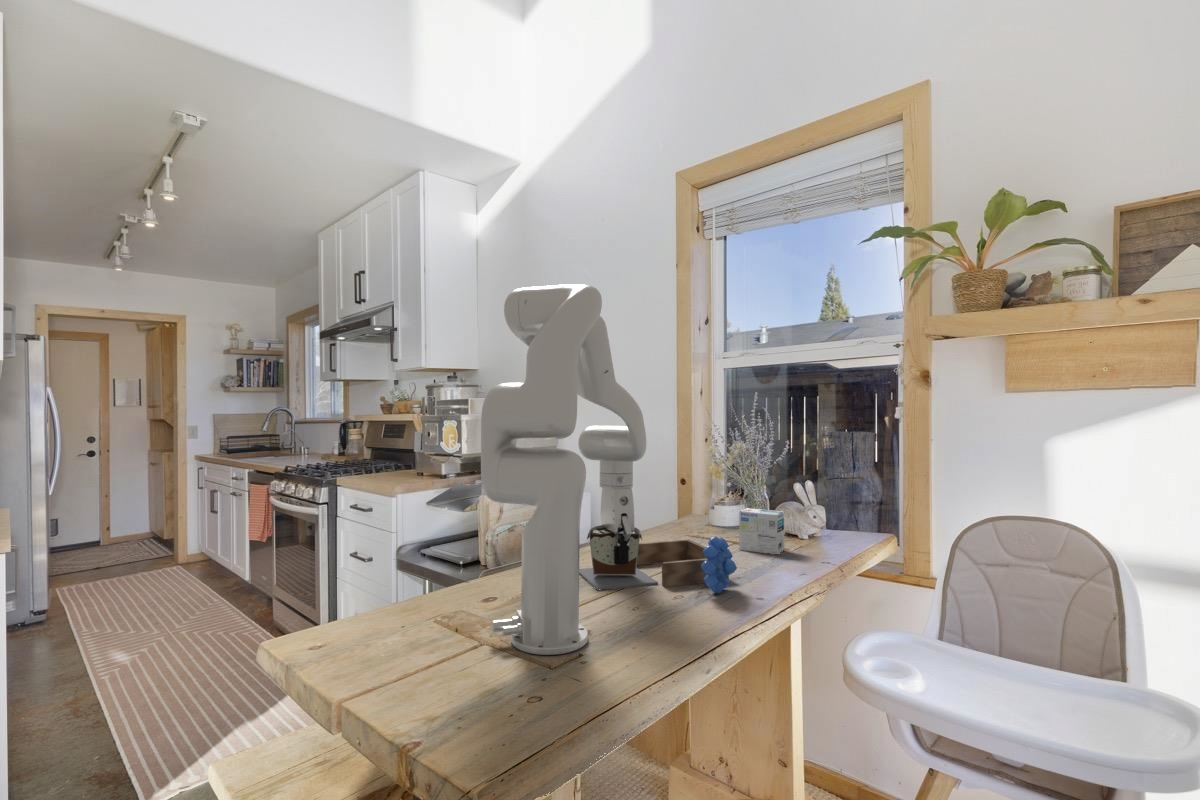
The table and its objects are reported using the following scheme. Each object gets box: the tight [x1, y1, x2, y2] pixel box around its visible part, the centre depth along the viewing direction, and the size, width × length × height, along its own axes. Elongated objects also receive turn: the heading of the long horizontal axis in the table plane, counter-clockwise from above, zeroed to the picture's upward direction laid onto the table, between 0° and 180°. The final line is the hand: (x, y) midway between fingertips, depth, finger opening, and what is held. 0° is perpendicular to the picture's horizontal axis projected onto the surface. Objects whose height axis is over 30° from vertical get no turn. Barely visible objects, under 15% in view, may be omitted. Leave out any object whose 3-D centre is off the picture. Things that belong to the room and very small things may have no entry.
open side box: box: [637, 538, 730, 588], centre depth 139 cm, size 16×19×5 cm
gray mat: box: [579, 567, 659, 591], centre depth 133 cm, size 14×15×1 cm
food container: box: [586, 524, 643, 575], centre depth 134 cm, size 12×6×10 cm, turn 89°
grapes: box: [701, 536, 738, 594], centre depth 122 cm, size 12×7×12 cm, turn 144°
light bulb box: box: [738, 507, 785, 555], centre depth 160 cm, size 11×7×11 cm, turn 58°
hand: (615, 559), depth 133 cm, fingers closed on food container, 6 cm apart
